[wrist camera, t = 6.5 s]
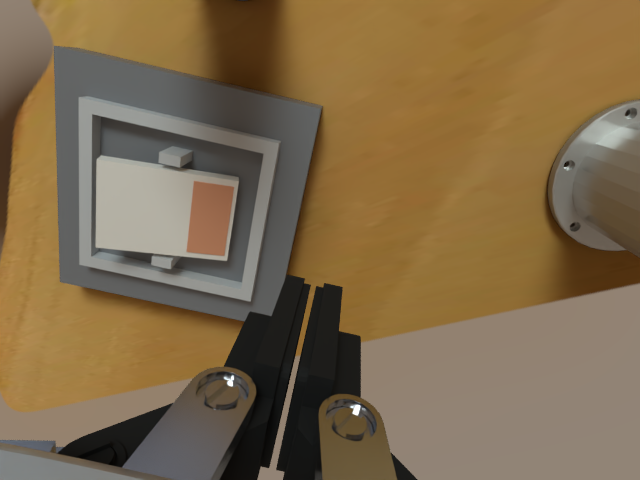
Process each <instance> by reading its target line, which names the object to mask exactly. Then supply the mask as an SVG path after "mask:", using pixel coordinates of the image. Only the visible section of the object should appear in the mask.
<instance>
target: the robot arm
mask: <svg viewBox="0 0 640 480" xmlns="http://www.w3.org/2000/svg"><path fill="white" fill-rule="evenodd" d="M626 111H627V112H626ZM625 113H626V114H625ZM566 162H567V163H566ZM565 163H566V165H565V166H564V164H565ZM548 199H549V206H550V209H551V212H552V215H553V217H554V219H555V220H556V222H557V223H558V225H559V227H560V228H561V229H562V230H563V231H564V232H566V233H567V234H568V235H569V236H570V237H572V238H573V239H575V240H576V241H577V242H579V243H581V244H583V245H586V246H588V247H590V248H594V249H599V250H603V251H623V250H628V251H629V252H631V253H633V254H634V255H636V256H637V257H639V258H640V99H638V100H632V101H627V102H624V103H621V104H618V105H615V106H612V107H610V108H608V109H606V110H604V111H602V112H600V113H598V114H596V115H595V116H593V117H592V118H591V119H589V120H588V121H587V122H585V123H584V124H583V125H581V126H580V127H579V128H578V129H577V131H576V132H575V133H574V134H573V135H572V136H571V137H570V138H569V139H568V140H567V142H566V143H565V145H564V146H563V147H562V149H561V150H560V152H559V154H558V156H557V158H556V160H555V162H554V164H553V167H552V170H551V174H550V177H549V184H548ZM304 280H305V279H304V278H300V277H295V276H291V275H286V278H285V281H284V283H283V286H282V289H281V291H280V294H279V297H278V300H277V302H276V305H275V308H274V310H273V313H272V316H269V315H265V314H260V313H256V312H251V311H250V312H249V314H248V316H247V318H246V320H245V322H244V324H243V326H242V329H241V331H240V333H239V335H238V337H237V339H236V341H235V343H234V346H233V348H232V350H231V352H230V354H229V356H228V358H227V361H226V363H225V365H224V367H215V368H210V369H207V370H205V371H203V372H201V373H199V374H198V375H197V376H196V377H194V378H193V379H192V381H191V382H190V383H189V384H188V386H187V387H186V388H185V389H184V391H183V392H182V394H180V396H179V397H178V398H177V399H176V401H175V402H174V403H172V404H169V405H167V406H164V407H161V408H158V409H156V410H153V411H150V412H147V413H145V414H142V415H139V416H137V417H134V418H131V419H129V420H126V421H124V422H121V423H118V424H115V425H113V426H110V427H107V428H105V429H102V430H99V431H96V432H94V433H91V434H88V435H86V436H83V437H81V438H79V439H77V440H75V441H73V442H71V443H69V444H68V445H67V446H65V447H56V443H55V441H28V440H0V480H257V478H258V474H259V470H260V467H261V466H262V467H266V468H269V466H270V462H271V458H272V453H273V449H274V445H275V440H276V436H277V432H278V428H279V423H280V419H281V415H282V410H283V406H284V401H285V397H286V393H287V389H288V384H289V380H290V376H291V372H292V367H293V363H294V359H295V354H296V349H297V345H298V340H299V336H300V331H301V327H302V322H303V318H304V313H305V309H306V304H307V299H308V295H309V290H310V286H311V285H309V284H304ZM341 299H342V287H340V286H335V285H331V284H326V283H324V287H323V288H322V287H318V286H316V290H315V295H314V299H313V304H312V308H311V312H310V317H309V321H308V326H307V330H306V334H305V339H304V343H303V348H302V352H301V356H300V361H299V365H298V371H297V375H296V379H295V384H294V389H293V393H292V398H291V403H290V407H289V412H288V417H287V421H286V426H285V431H284V435H283V440H282V445H281V449H280V454H279V459H278V464H277V468H276V469H277V470H279V471H284V472H285V473H284V477H283V480H417V479H416V478H415V477H414V476H413V475H412V474H411V473H410V472H409V471H408V470H407V468H405V467H404V465H402V463H401V462H400V461H399V460H398V459H397V458H396V457H395V456H394V455H393V454H392V453H391V452H390V448H389V444H388V439H387V436H386V431H385V427H384V423H383V420H382V418H381V416H380V414H379V412H378V411H377V410H376V409H375V407H374V406H372V405H371V404H370V403H368V402H367V401H366V400H364V399H362V398H360V396H361V391H360V390H361V388H360V387H361V384H360V383H361V381H360V380H361V372H360V371H361V359H360V358H361V339H360V336H358V335H353V334H349V333H344V332H340V331H339V322H340V311H341Z"/></svg>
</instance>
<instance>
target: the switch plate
mask: <svg viewBox="0 0 640 480" xmlns="http://www.w3.org/2000/svg"><path fill="white" fill-rule="evenodd" d="M54 72H55V111H56V149H57V187H58V225H59V263H60V282H63V283H68V284H72V285H77V286H82V287H86V288H91V289H96V290H100V291H105V292H110V293H114V294H119V295H124V296H128V297H133V298H138V299H142V300H147V301H152V302H156V303H161V304H166V305H170V306H175V307H180V308H184V309H189V310H194V311H198V312H203V313H208V314H212V315H217V316H222V317H226V318H231V319H236V320H240V321H245V320H246V318H247V316H248V314H249V312H250V311H251V312H256V313H260V314H265V315H269V316H272V313H273V310H274V308H275V305H276V302H277V300H278V297H279V294H280V291H281V289H282V286H283V283H284V281H285V278H286V275H287V271H288V266H289V261H290V257H291V252H292V247H293V242H294V238H295V233H296V228H297V224H298V219H299V214H300V210H301V205H302V200H303V196H304V191H305V186H306V182H307V177H308V172H309V168H310V163H311V158H312V154H313V149H314V144H315V140H316V135H317V130H318V126H319V121H320V116H321V112H322V107H323V106H321V105H317V104H313V103H308V102H304V101H300V100H296V99H291V98H287V97H283V96H279V95H275V94H270V93H266V92H262V91H258V90H253V89H249V88H245V87H241V86H237V85H232V84H228V83H224V82H220V81H215V80H211V79H207V78H203V77H199V76H194V75H190V74H186V73H182V72H177V71H173V70H169V69H165V68H161V67H156V66H152V65H148V64H144V63H139V62H135V61H131V60H127V59H123V58H118V57H114V56H110V55H106V54H101V53H97V52H93V51H89V50H85V49H80V48H73V47H61V46H54ZM101 155H102V156H109V157H115V158H122V159H128V160H134V161H141V162H147V163H153V164H160V165H166V166H172V167H179V168H185V169H192V170H198V171H204V172H211V173H217V174H223V175H230V176H236V177H239V184H238V191H237V197H236V204H235V211H234V218H233V224H232V231H231V238H230V245H229V251H228V258H227V261H222V260H213V259H203V258H193V257H183V256H174V255H164V254H154V253H144V252H135V251H125V250H115V249H105V248H96V166H97V159H98V158H99V157H100V156H101Z"/></svg>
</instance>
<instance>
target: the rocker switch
mask: <svg viewBox="0 0 640 480" xmlns="http://www.w3.org/2000/svg"><path fill="white" fill-rule="evenodd" d="M238 184H239V177H236V176H230V175H223V174H217V173H211V172H204V171H198V170H192V169H185V168H179V167H172V166H166V165H160V164H153V163H147V162H141V161H134V160H128V159H122V158H115V157H109V156H102V155H101V156H100V157H99V158H98V159H97V166H96V248H105V249H115V250H125V251H135V252H144V253H154V254H164V255H174V256H183V257H193V258H203V259H213V260H222V261H227V258H228V251H229V245H230V238H231V231H232V224H233V218H234V211H235V204H236V197H237V191H238Z"/></svg>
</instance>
